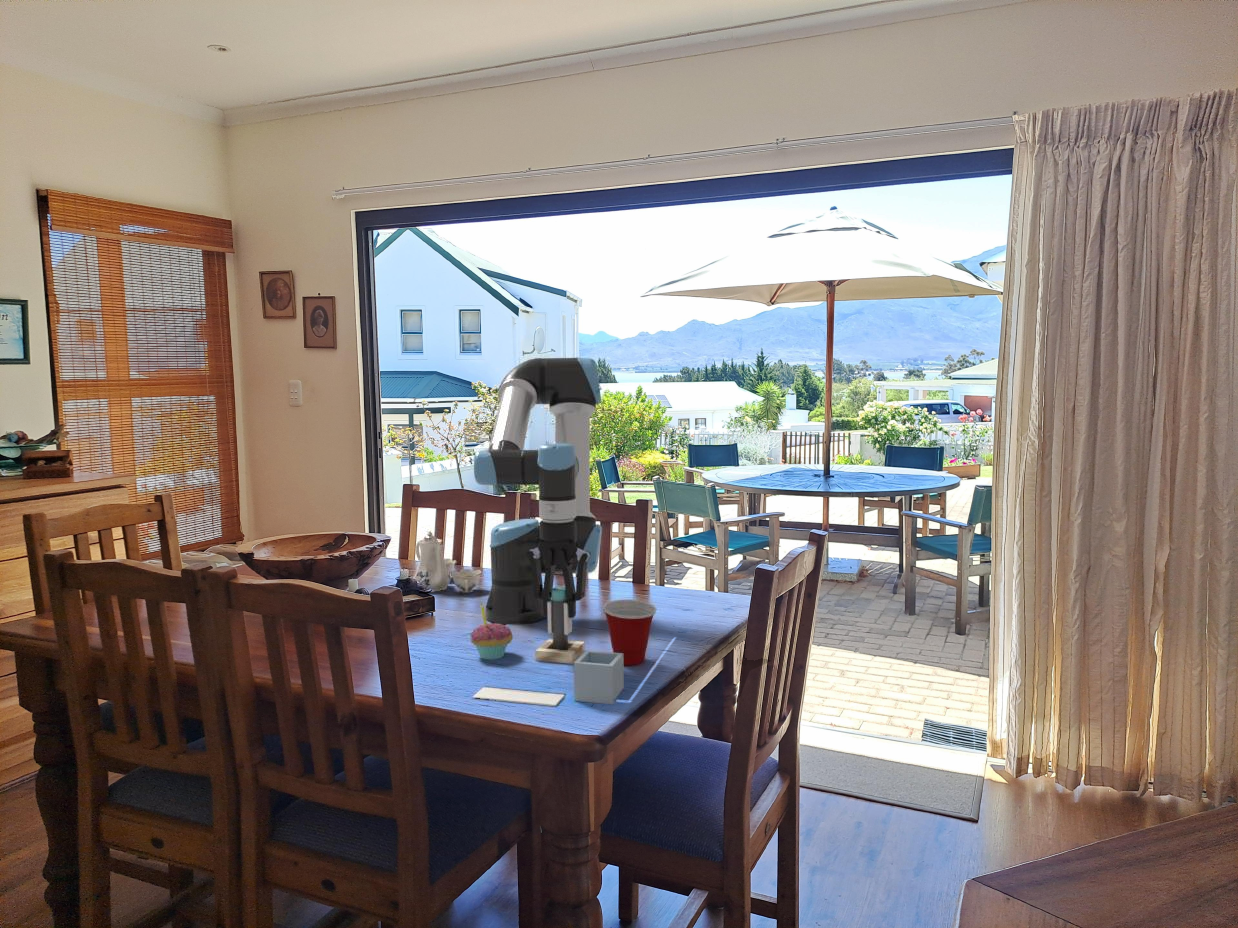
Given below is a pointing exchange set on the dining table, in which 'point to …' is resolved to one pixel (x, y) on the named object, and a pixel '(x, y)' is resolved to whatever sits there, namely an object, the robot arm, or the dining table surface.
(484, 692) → the paper
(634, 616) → the plastic cup
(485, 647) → the cupcake
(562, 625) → the marker
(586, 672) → the pen pot
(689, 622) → the dining table surface
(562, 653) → the marker stand
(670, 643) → the dining table surface
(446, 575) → the chinaware
